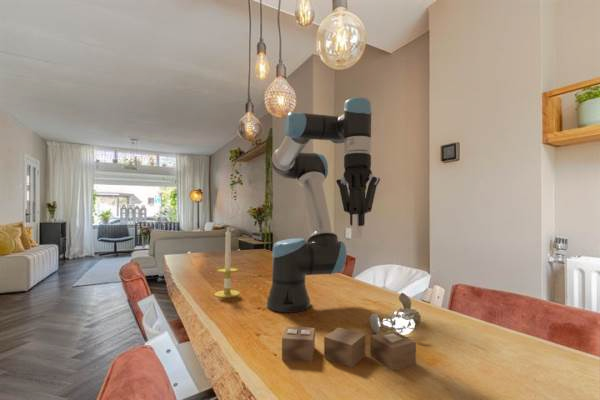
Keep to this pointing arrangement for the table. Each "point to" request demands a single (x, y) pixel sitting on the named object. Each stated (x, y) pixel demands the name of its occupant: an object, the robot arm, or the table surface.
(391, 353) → the dot block one
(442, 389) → the table surface
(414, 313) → the bone
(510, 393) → the table surface
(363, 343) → the plain block
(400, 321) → the figurine
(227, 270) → the candle
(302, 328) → the dot block two
